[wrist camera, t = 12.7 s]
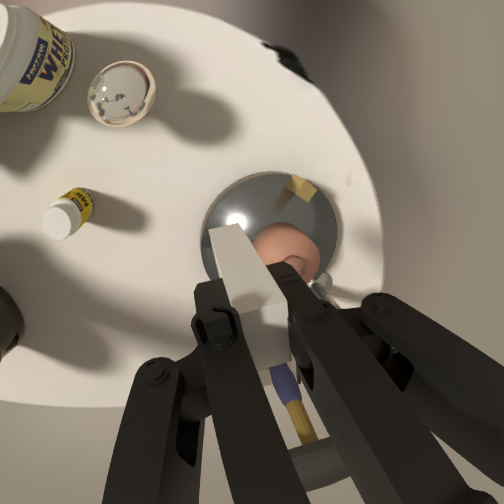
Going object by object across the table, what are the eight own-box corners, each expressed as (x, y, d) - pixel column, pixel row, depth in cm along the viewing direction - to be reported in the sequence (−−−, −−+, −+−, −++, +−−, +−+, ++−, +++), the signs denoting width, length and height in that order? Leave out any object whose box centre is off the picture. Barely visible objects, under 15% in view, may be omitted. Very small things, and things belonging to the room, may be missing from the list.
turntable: (174, 263, 39) (173, 287, 33) (254, 142, 34) (268, 146, 28) (278, 312, 47) (291, 336, 42) (351, 219, 43) (374, 234, 37)
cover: (239, 258, 38) (249, 282, 33) (274, 211, 36) (290, 228, 31) (282, 281, 42) (297, 305, 36) (315, 239, 40) (335, 258, 34)
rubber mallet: (236, 360, 51) (281, 503, 25) (235, 333, 48) (287, 493, 22) (296, 349, 54) (361, 475, 28) (300, 322, 50) (379, 459, 24)
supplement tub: (79, 95, 26) (11, 81, 11) (11, 124, 24) (-67, 138, 9) (79, 19, 20) (27, -28, 5) (10, 51, 18) (-58, 35, 3)
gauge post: (298, 303, 48) (337, 366, 35) (296, 276, 45) (340, 338, 32) (328, 294, 49) (373, 351, 35) (329, 266, 46) (379, 322, 33)
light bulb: (137, 65, 26) (117, 39, 16) (173, 98, 29) (168, 83, 19) (99, 105, 27) (62, 98, 17) (135, 137, 30) (111, 143, 20)
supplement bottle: (100, 195, 32) (80, 215, 25) (88, 225, 34) (67, 251, 26) (72, 180, 30) (46, 197, 23) (61, 210, 31) (35, 233, 24)
